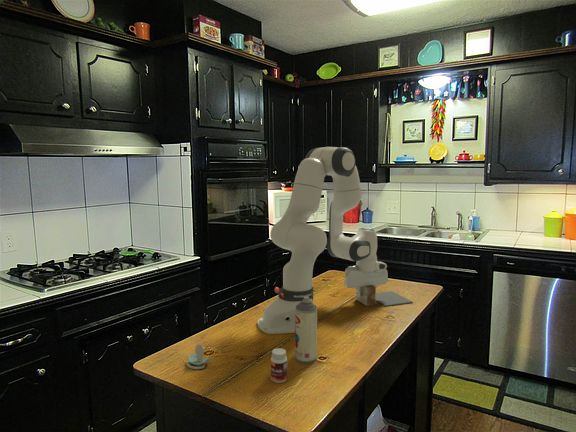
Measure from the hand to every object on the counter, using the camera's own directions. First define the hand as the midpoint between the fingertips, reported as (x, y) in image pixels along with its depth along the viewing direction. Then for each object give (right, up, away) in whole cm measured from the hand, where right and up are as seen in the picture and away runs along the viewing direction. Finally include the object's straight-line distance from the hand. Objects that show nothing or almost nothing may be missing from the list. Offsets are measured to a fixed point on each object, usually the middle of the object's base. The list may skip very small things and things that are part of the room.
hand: (365, 295), depth 183 cm
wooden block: (0, -3, 0) cm, 3 cm away
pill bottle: (-37, -12, -65) cm, 75 cm away
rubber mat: (+11, -3, +4) cm, 12 cm away
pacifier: (-62, -11, -56) cm, 84 cm away
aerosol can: (-29, -10, -52) cm, 60 cm away
